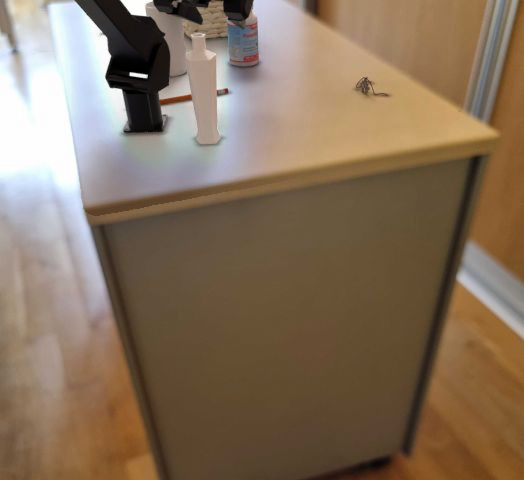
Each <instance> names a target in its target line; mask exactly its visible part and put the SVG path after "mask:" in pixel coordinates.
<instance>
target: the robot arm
mask: <svg viewBox="0 0 524 480" xmlns="http://www.w3.org/2000/svg"><path fill="white" fill-rule="evenodd" d="M73 1H74V2H75V3H76V4H77V5H78V6H79V7H80V9H81V10H82V11H83V12H84V13H85V14H86V16H87V17H88V18H89V19H90V20H91V21H92V23H94V25H95V26H96V27H97V28H98V29H99V31H100V32H102V34H103V35H104V36H105V37H106V41H107V51H108V54H109V55H110V58H109V62H108V65H107V68H106V71H105V75H104V79H105V81H106V83H107V86H108V87H109V88H110V89H116V90H121V93H122V97H123V103H124V108H125V113H126V117H127V120H126V123H125V125H124V126H123V129H122V131H123V133H124V134H141V133H142V134H143V133H144V134H145V133H147V134H149V133H163V132H164V130H165V127H166V124H167V121H168V120H169V119H168V118H169V116H168V114H165V113H164V114H163V112H162V105H160V92H161V91H163V90H164V89H166V88H168V87H169V86H170V77H171V76H170V50H169V46H168V44H167V42H166V40H165V38H164V36H165V33H164V32H162V31H161V30H160V29H159V27H158V26H157V24H156V22H155V20H154V19H153V18H152V17H150V16H146V15H141V14H132V13H131V12H130V10H129V9H128V8H127V6H126V5H125V4H124V3H123V1H122V0H73ZM152 1H153V4H154V6H155V7H156V9H157V10H158V11H159V12H164V13H166V14H168V15H172V16H175V17H179V18H182V19H185V20H188V21H190V22H193V23H196V24H199V25H202V23H203V18H202V16H201V14H200V12H199V11H198V9H197V7H203V8H208V5H209V2H211V1H212V0H152ZM213 1H223V11H224V13H225V15H226V16H227V17H228V20H229V21H230V22H232V23H233V24H235V25H236V26H238V27H239V28H241V29H245V26H246V19H247V18H248V17H249V15H250V11H251V8H252V5H253V6H254V1H255V0H213ZM131 73H132V74H137V75H145V76H146V77H142V76H141V77H140V76H135V75H131Z"/></svg>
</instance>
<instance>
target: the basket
mask: <svg viewBox="0 0 524 480" xmlns="http://www.w3.org/2000/svg"><path fill="white" fill-rule="evenodd" d="M197 9H198V11H199V12H200V14H201V16H202V18H203V23H202V25H199V24H196V23H193V22H190V21H188V20H185V19H182V20H183V30H184V35H186V36H187V37H188V38H189V39H191V40H192V37H191V36H190V35H191V34H195V33H203V34H206V35H205V40H206V39H210V38H211V39H213V38H219V37H221V38H224V37H228V29H227V16H226V15H225V13H224V11H223V1H213V0H212V1H211V2H209V5H208V8H203V7H197Z"/></svg>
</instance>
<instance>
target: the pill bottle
mask: <svg viewBox="0 0 524 480" xmlns="http://www.w3.org/2000/svg"><path fill="white" fill-rule="evenodd" d="M253 10H254V4H253V5H252V8H251V11H250V15H249V17H248V18H247V19H246V26H245V29H241V28H239V27H238V26H236V25H235V24H233V23H232V22H230V21H229V20H228V17H227V29H228V36H227V42H228V43H227V45H228V59H229V63H230V64H231V65H232V66H235V67H242V68H243V67H244V68H245V67H252V66H254V65H257V64H258V63H259V60H260V53H259V51H260V50H259V24H258V16H257V14H256V13H255V12H253Z"/></svg>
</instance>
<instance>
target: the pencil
mask: <svg viewBox="0 0 524 480" xmlns="http://www.w3.org/2000/svg"><path fill="white" fill-rule="evenodd" d="M224 94H225V95H226V94H229V87H228V88H227V87H226V88H219V89H217V96H219V95H224ZM190 100H192V95H191V93H190V94H185V95H178V96H171V97H166V98H161V99H160V105H161V106H162V105H168V104H173V103H179V102H184V101H190Z"/></svg>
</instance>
